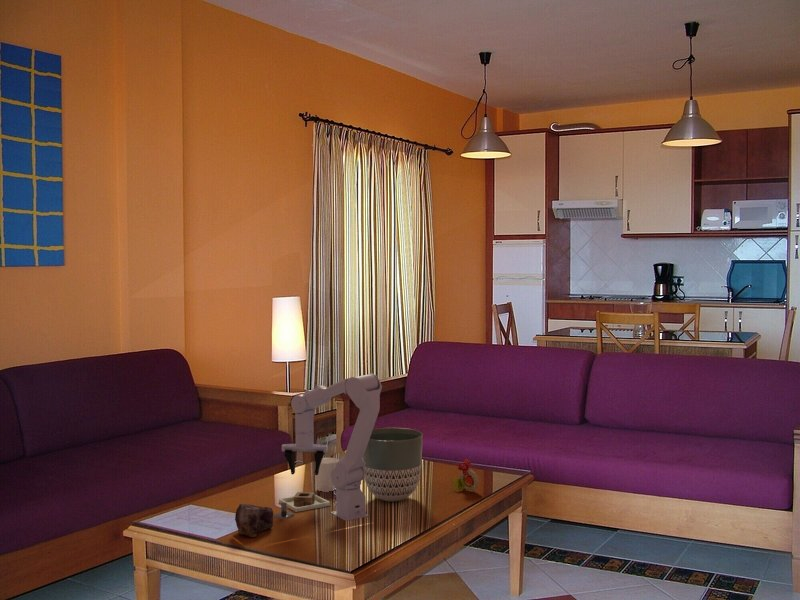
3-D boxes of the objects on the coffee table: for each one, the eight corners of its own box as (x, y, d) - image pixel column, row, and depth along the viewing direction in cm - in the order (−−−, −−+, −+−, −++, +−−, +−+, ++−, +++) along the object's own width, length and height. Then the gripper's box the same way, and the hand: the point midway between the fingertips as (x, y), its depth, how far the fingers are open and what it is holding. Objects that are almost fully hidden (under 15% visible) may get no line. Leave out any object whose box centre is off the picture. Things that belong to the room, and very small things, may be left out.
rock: (276, 535, 240) (251, 528, 246) (280, 505, 241) (255, 498, 247) (247, 540, 231) (222, 532, 237) (251, 509, 231) (226, 502, 237)
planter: (351, 495, 275) (351, 431, 274) (405, 487, 284) (404, 425, 283) (378, 512, 258) (377, 443, 256) (434, 503, 267) (433, 436, 265)
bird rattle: (477, 496, 282) (457, 481, 286) (489, 468, 278) (468, 454, 283) (467, 500, 277) (447, 485, 282) (479, 472, 273) (457, 457, 278)
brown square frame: (314, 501, 267) (314, 492, 267) (310, 508, 261) (310, 498, 260) (297, 501, 268) (297, 492, 268) (292, 507, 261) (292, 498, 261)
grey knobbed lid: (298, 517, 253) (298, 503, 252) (278, 521, 249) (278, 507, 249) (288, 512, 258) (288, 498, 258) (269, 515, 254) (269, 502, 254)
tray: (330, 506, 263) (330, 501, 263) (295, 513, 257) (295, 508, 257) (312, 497, 273) (312, 493, 273) (278, 503, 267) (278, 499, 267)
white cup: (310, 491, 281) (310, 461, 280) (323, 485, 288) (323, 456, 287) (330, 494, 277) (330, 464, 277) (343, 488, 284) (343, 459, 284)
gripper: (278, 433, 261) (279, 476, 262) (324, 434, 259) (324, 477, 260) (284, 429, 268) (285, 470, 269) (328, 430, 266) (329, 472, 267)
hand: (304, 474), depth 265 cm, fingers open, 7 cm apart
